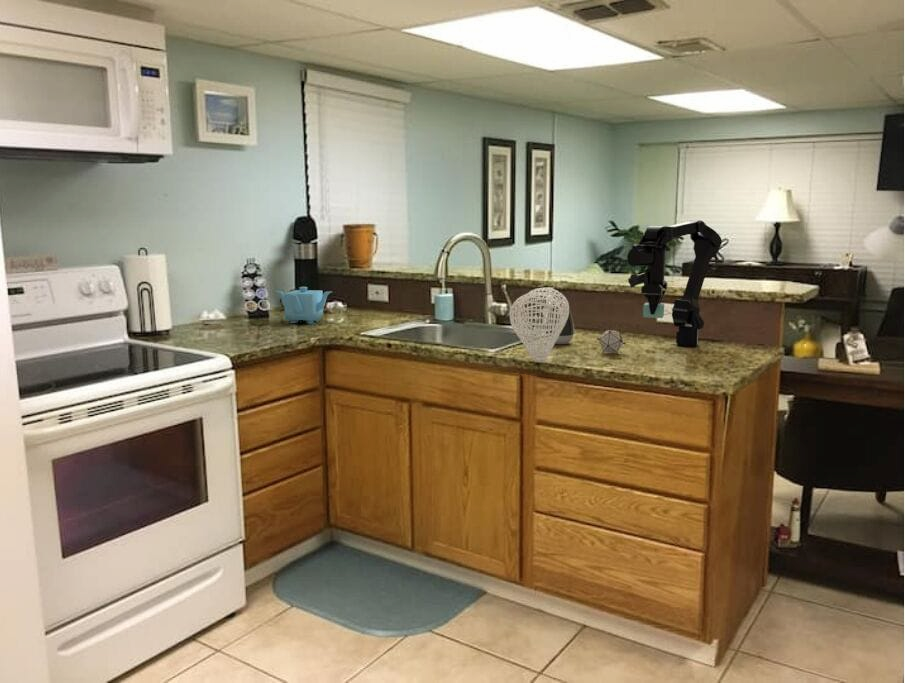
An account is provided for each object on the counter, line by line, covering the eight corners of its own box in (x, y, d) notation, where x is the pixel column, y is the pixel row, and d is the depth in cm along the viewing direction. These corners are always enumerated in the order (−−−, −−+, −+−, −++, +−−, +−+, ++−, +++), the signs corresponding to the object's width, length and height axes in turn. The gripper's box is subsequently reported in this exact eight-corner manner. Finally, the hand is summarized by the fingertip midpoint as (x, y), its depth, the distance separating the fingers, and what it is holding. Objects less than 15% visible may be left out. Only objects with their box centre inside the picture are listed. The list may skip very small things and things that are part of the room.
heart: (556, 373, 223) (558, 296, 219) (504, 370, 228) (504, 294, 224) (571, 355, 250) (572, 286, 246) (524, 352, 254) (524, 284, 250)
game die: (604, 363, 254) (592, 337, 258) (628, 354, 254) (615, 327, 258) (606, 355, 246) (593, 328, 249) (631, 345, 246) (618, 318, 249)
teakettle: (314, 317, 336) (312, 283, 333) (335, 322, 321) (334, 287, 319) (273, 322, 324) (271, 286, 322) (293, 327, 310) (292, 290, 307)
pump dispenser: (577, 342, 273) (578, 299, 270) (569, 347, 264) (570, 302, 261) (549, 340, 277) (550, 297, 275) (540, 344, 268) (541, 301, 265)
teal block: (663, 315, 256) (664, 303, 255) (662, 318, 250) (662, 305, 250) (645, 314, 258) (645, 302, 257) (643, 317, 252) (643, 304, 252)
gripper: (634, 262, 263) (632, 308, 266) (625, 266, 246) (624, 315, 248) (668, 263, 259) (666, 310, 262) (662, 267, 242) (660, 317, 244)
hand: (653, 313), depth 254 cm, fingers closed on teal block, 6 cm apart
